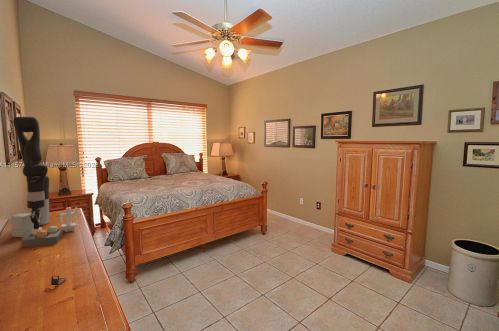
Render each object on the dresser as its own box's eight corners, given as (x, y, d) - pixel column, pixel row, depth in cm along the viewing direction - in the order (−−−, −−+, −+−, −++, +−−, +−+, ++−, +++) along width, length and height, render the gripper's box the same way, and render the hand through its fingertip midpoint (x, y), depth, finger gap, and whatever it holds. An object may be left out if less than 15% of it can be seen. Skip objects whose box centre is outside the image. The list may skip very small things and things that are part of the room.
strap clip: (60, 279, 100) (60, 269, 100) (67, 280, 100) (67, 270, 100) (42, 291, 91) (42, 281, 91) (50, 292, 91) (50, 281, 91)
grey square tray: (30, 238, 139) (30, 231, 139) (62, 234, 147) (62, 228, 146) (21, 247, 127) (21, 240, 127) (57, 243, 134) (57, 236, 134)
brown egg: (38, 240, 135) (37, 230, 134) (48, 239, 137) (47, 229, 137) (35, 243, 131) (35, 233, 131) (46, 242, 133) (45, 232, 133)
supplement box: (35, 233, 147) (34, 213, 146) (22, 237, 140) (22, 216, 139) (24, 232, 148) (24, 212, 147) (11, 236, 141) (10, 215, 140)
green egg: (48, 236, 142) (48, 226, 142) (58, 235, 144) (57, 225, 144) (46, 238, 138) (46, 228, 138) (56, 237, 140) (56, 227, 140)
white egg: (33, 238, 139) (33, 227, 138) (43, 236, 141) (42, 227, 140) (30, 240, 135) (30, 230, 134) (41, 239, 137) (40, 229, 136)
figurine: (58, 230, 154) (58, 207, 153) (76, 227, 160) (76, 205, 159) (60, 233, 149) (60, 209, 148) (78, 230, 155) (78, 207, 154)
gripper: (31, 197, 140) (31, 226, 141) (23, 202, 128) (23, 233, 129) (47, 196, 144) (47, 224, 145) (41, 201, 132) (41, 231, 133)
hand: (36, 228), depth 137 cm, fingers closed
